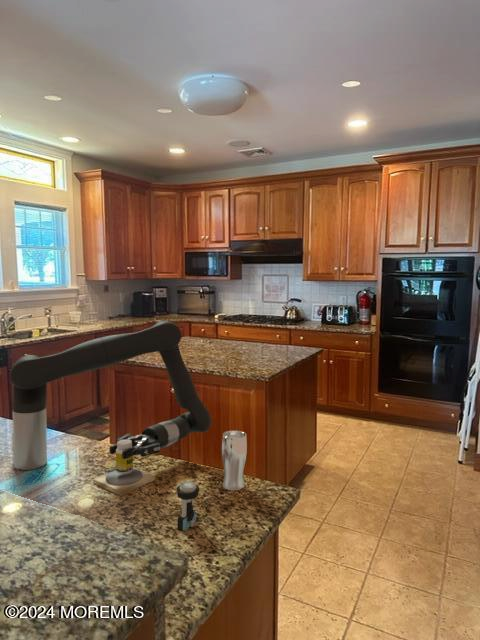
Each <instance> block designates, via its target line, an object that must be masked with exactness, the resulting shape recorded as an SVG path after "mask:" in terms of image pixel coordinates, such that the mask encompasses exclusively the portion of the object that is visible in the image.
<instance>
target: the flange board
mask: <svg viewBox="0 0 480 640" xmlns="http://www.w3.org/2000/svg"><path fill="white" fill-rule="evenodd" d="M155 479H156V478H155V475H153V474H151V473H149V472H146V471H143V470H140V469H139V468H136V467H133V470H132V471H131V472H130V473H126V474H120V473H117V472H116V467H111V468H109V469H107V472H106V473H104V474H101V475H99V476H97V477H94V478H92V483H93V484H95V485H96V486H98V487H101V488H103V489H104V490H107V491H109V492H112V493H114V494H116V495H119V496H121V497H122V496H125V495H126V494H129V493H131V492H132V491H134V490H137V489H139V488H140V487H142V486H145V485H148V483H151V482H153V481H155Z"/></svg>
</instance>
